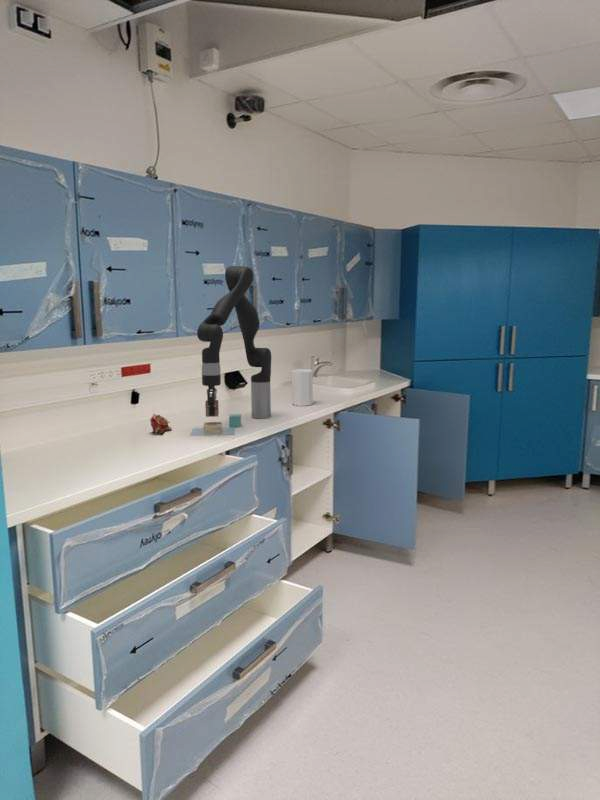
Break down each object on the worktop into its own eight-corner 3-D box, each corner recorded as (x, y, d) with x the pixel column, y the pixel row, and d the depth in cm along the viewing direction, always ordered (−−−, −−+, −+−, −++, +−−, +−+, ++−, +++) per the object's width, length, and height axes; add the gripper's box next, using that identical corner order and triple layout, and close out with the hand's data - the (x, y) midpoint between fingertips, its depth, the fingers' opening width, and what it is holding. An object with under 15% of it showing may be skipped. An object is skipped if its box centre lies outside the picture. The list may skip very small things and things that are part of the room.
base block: (204, 430, 243) (204, 422, 243) (221, 430, 244) (221, 421, 243) (203, 434, 236) (203, 425, 236) (221, 434, 237) (220, 425, 236)
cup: (303, 402, 320) (303, 368, 317) (317, 404, 311) (317, 370, 308) (287, 404, 313) (287, 370, 310) (300, 407, 304) (300, 372, 301)
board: (193, 431, 248) (192, 428, 248) (235, 430, 250) (235, 427, 250) (189, 438, 235) (189, 435, 234) (234, 437, 236) (234, 434, 236)
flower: (144, 432, 239) (155, 416, 238) (144, 423, 247) (154, 408, 246) (164, 442, 243) (175, 428, 242) (163, 434, 251) (173, 419, 250)
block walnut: (206, 414, 241) (206, 400, 240) (218, 414, 241) (218, 400, 241) (205, 416, 236) (205, 402, 235) (218, 416, 237) (217, 402, 236)
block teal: (229, 427, 255) (229, 414, 254) (241, 427, 256) (240, 414, 255) (229, 430, 250) (229, 416, 249) (240, 429, 251) (240, 416, 250)
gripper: (219, 375, 229) (220, 417, 232) (221, 371, 243) (222, 411, 246) (200, 375, 229) (201, 418, 231) (203, 371, 243) (204, 411, 245)
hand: (212, 414), depth 239 cm, fingers closed on block walnut, 5 cm apart
